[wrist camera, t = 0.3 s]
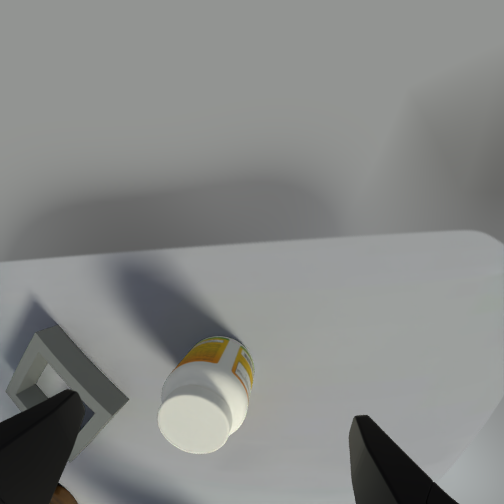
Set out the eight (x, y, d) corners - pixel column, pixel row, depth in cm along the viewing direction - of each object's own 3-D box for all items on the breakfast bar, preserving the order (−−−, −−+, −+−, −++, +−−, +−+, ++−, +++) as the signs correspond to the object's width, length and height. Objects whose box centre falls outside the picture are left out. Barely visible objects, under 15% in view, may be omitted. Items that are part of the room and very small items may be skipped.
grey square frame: (86, 446, 26) (70, 462, 22) (25, 381, 26) (5, 391, 23) (129, 399, 25) (112, 416, 22) (57, 324, 26) (35, 332, 22)
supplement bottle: (177, 375, 25) (131, 432, 15) (207, 322, 25) (167, 362, 15) (234, 406, 25) (214, 477, 15) (267, 356, 24) (262, 414, 15)
